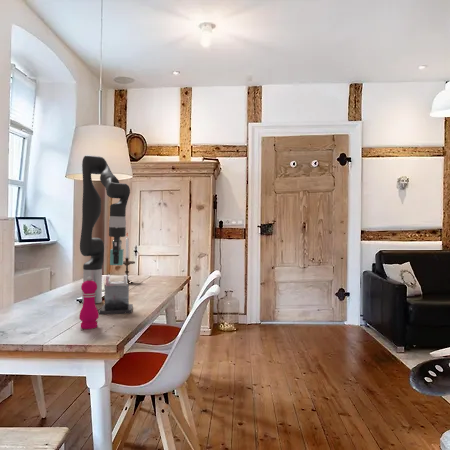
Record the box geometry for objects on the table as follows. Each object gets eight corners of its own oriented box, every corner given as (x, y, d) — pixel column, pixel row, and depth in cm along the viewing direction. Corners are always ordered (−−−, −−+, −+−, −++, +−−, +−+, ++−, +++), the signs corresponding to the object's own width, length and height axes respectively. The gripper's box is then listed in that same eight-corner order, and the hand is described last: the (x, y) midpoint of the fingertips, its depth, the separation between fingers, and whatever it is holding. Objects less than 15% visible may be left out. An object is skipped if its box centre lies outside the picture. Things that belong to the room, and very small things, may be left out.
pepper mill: (87, 330, 159) (88, 278, 159) (75, 327, 163) (75, 276, 162) (102, 326, 165) (102, 276, 165) (90, 324, 169) (90, 274, 169)
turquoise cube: (109, 265, 189) (110, 249, 189) (111, 263, 194) (111, 248, 194) (122, 265, 190) (122, 250, 190) (123, 263, 195) (123, 249, 195)
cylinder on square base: (99, 314, 186) (99, 277, 186) (103, 307, 200) (103, 274, 200) (131, 313, 189) (131, 277, 189) (132, 307, 203) (132, 273, 203)
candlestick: (132, 284, 279) (133, 232, 278) (116, 283, 279) (117, 231, 279) (136, 281, 289) (136, 231, 289) (121, 281, 290) (121, 231, 289)
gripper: (110, 225, 198) (110, 261, 198) (107, 226, 184) (106, 264, 184) (126, 226, 199) (126, 261, 200) (124, 227, 185) (123, 265, 186)
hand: (116, 262), depth 192 cm, fingers closed on turquoise cube, 5 cm apart
